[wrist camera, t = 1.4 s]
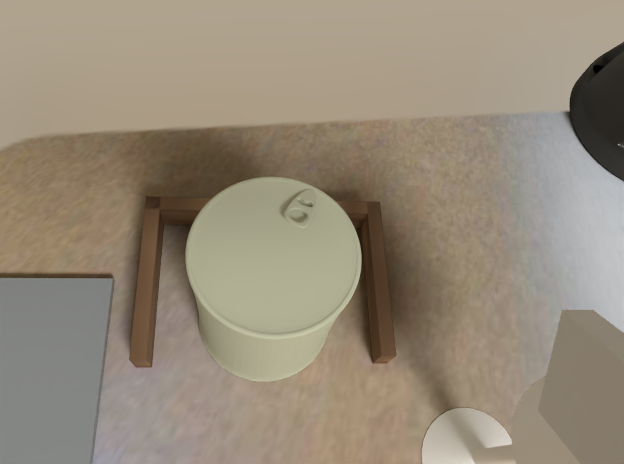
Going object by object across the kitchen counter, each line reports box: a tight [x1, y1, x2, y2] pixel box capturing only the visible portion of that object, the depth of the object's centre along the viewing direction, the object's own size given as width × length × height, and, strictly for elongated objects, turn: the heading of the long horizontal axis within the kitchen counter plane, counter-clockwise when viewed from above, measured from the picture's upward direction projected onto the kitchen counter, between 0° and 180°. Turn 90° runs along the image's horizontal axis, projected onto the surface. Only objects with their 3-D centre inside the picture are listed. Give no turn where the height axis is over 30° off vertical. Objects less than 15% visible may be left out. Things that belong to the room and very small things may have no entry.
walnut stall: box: [129, 196, 396, 368], centre depth 37 cm, size 17×12×2 cm
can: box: [185, 177, 361, 382], centre depth 32 cm, size 9×9×12 cm
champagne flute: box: [422, 376, 580, 464], centre depth 24 cm, size 7×7×24 cm
